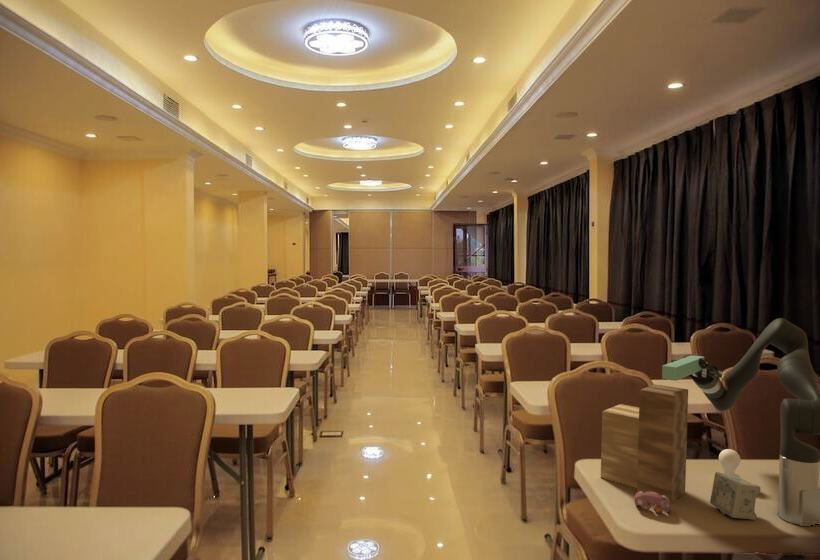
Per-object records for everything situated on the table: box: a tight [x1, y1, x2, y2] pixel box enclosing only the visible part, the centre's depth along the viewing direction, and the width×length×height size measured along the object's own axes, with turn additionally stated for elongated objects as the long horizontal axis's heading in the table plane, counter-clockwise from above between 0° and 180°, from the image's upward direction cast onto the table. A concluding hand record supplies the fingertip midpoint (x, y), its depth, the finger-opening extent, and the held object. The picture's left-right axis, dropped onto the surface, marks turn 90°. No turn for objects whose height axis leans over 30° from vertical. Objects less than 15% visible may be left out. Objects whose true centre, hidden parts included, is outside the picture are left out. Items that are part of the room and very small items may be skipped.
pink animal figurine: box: [633, 491, 672, 514], centre depth 165 cm, size 10×5×7 cm, turn 63°
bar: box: [661, 355, 705, 381], centre depth 183 cm, size 26×4×4 cm, turn 136°
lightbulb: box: [718, 448, 741, 474], centre depth 187 cm, size 6×6×11 cm
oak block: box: [600, 403, 639, 489], centre depth 191 cm, size 14×12×22 cm
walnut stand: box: [636, 383, 689, 505], centre depth 177 cm, size 12×10×32 cm
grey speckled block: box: [709, 471, 761, 521], centre depth 164 cm, size 10×8×10 cm
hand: (692, 359), depth 189 cm, fingers closed on bar, 4 cm apart
